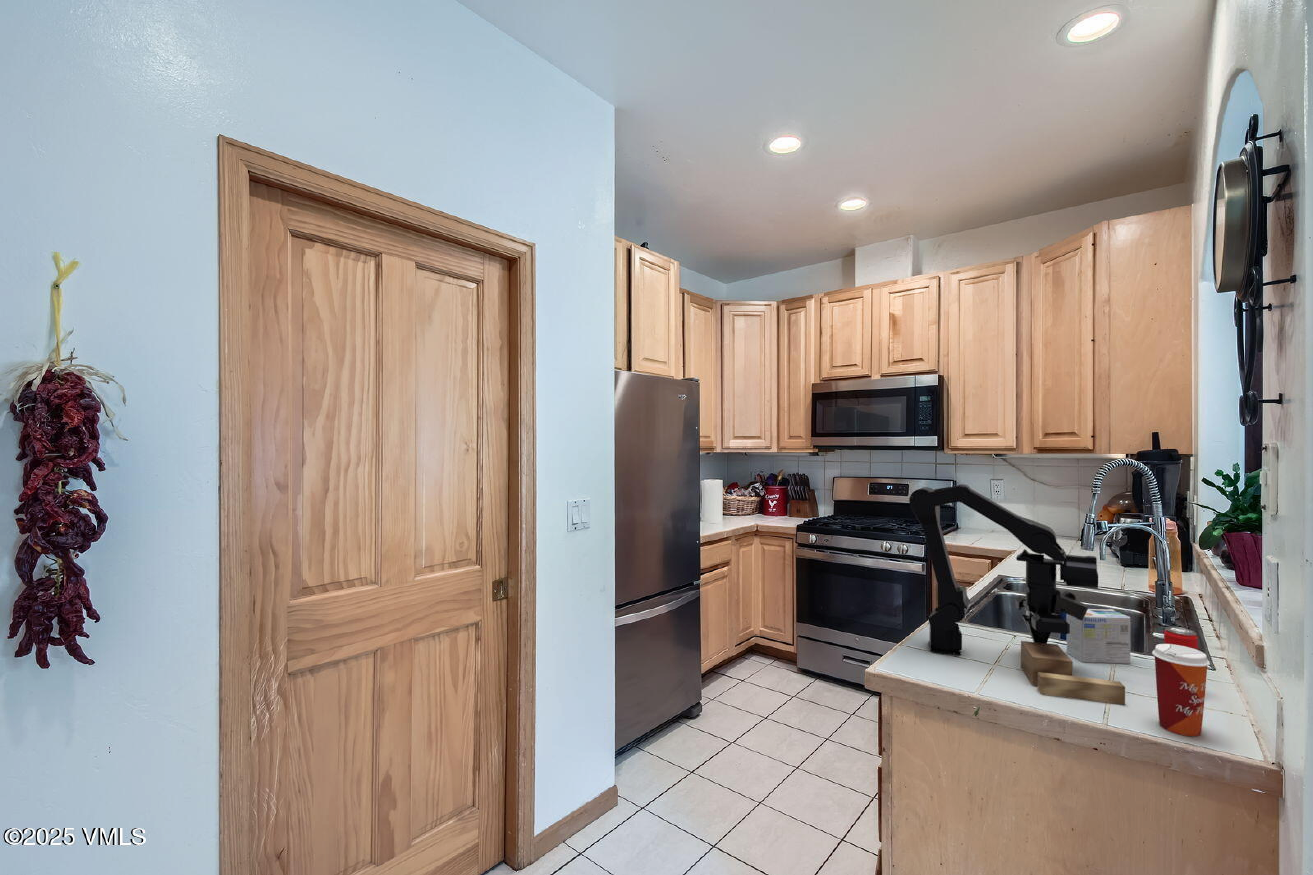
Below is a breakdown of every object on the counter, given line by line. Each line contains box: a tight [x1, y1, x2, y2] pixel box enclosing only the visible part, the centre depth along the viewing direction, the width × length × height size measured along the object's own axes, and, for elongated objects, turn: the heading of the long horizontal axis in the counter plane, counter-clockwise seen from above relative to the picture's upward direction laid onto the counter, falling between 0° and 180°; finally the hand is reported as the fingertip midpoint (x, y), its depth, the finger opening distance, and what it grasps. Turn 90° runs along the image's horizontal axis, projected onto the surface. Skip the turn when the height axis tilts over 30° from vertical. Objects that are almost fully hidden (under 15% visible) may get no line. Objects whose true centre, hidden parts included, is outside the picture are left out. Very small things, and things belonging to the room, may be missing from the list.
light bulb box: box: [1065, 608, 1131, 664], centre depth 138 cm, size 11×7×11 cm, turn 84°
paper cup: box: [1151, 643, 1211, 738], centre depth 105 cm, size 8×8×14 cm
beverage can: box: [1163, 626, 1199, 650], centre depth 121 cm, size 5×5×12 cm
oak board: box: [1037, 672, 1126, 705], centre depth 118 cm, size 14×2×4 cm, turn 70°
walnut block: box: [1020, 640, 1074, 687], centre depth 127 cm, size 7×10×6 cm
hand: (1040, 651), depth 133 cm, fingers closed
